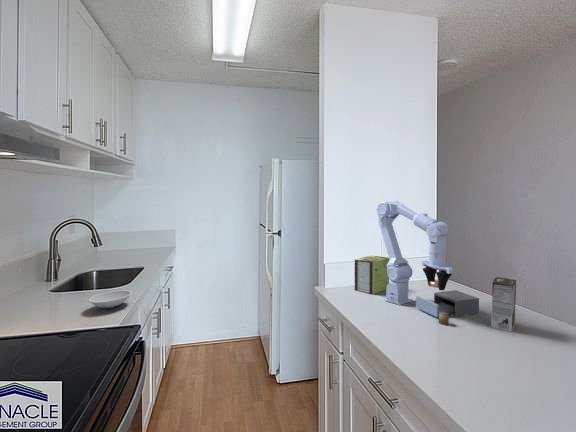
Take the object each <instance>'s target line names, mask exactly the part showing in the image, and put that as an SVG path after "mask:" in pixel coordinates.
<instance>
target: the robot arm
mask: <svg viewBox="0 0 576 432" xmlns="http://www.w3.org/2000/svg"><path fill="white" fill-rule="evenodd" d="M375 211H376V213H377V216H378V225H379V229H380V233H381V236H382V239H383V242H384V246H385V248H386V249H385V250H386V251H387V255H388V258H389V262H388V264H387V274H388V277H389V284H388V285H387V287H386V290H385V295H386V296H385V297H386V298H385V299H384V301H386V302H388V303H392V304H394V305H400V306H402V305H404V304H408V303H410V302H413V299H411V298H409V281H410V278H411V277H412V276H413V269H412V267H411V266H410V264H409V262H408V260H407V259H405V257H403V254H402V251H401V249H400V245H399V242H398V239H397V236H396V233H395V229H394V226H393V222H394V221H395V220H396V219H397V218H398V216H399V215H401V216H403V217H404V218H407V219H408V220H411V221H412V222H413V225H414V226H416V227H418V228H419V229H421V230H422V231H424V232H426V235H427V236H428V241H429V245H428V246H429V247H428V248H429V249H428V251H429V252H428V261H427V260H425V261H424V260H423V261H421V266H422V267H423V268H422V271H423V273H424V275H425V277H426V281H427V285H428V287H431V286H430V281H431V280H436V277H437V280H438V284H439V288H438V290H439V291H445V289H446V286H447V284H448V281H449V279H450V278H451V276H452V274H454V268H453V267H450V266H449V265H447V263H446V247H447V246H446V244H447V243H446V240H447V239H446V238H447V236H448V235H449V233H450V228H449V225H448V224H447V223H446V222H444V221H438V219H436V218H432V217H431V216H428V213H426V212H421V213H417V212H416V211H414V210H413V209H411V208H409V207H408V206H406V205H405V204H404V203H402V202H400V201H398V200H394V201H382V200H381V201H380V202H379V203H378V205H377V207H376V209H375Z"/></svg>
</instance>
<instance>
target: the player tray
mask: <svg viewBox="0 0 576 432" xmlns="http://www.w3.org/2000/svg"><path fill="white" fill-rule="evenodd" d="M415 308H416V309H419V310H421V311H423V312H424V313H427V314H429V315H431V316H434V318H435V317H436V318H439V312H446V313H448V314H449V313H454V312H455V307H454V306H452V305H449V304H447V303H444V302H442V301H439V302H435V303H434V301H433V302H432V301H430V300H428V299H426V298H423V297H421V296H419V295H416V296H415Z"/></svg>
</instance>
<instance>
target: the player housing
mask: <svg viewBox="0 0 576 432" xmlns="http://www.w3.org/2000/svg"><path fill="white" fill-rule="evenodd" d="M433 293H434V294H433V303H435V302H439V301H442V302H444V303H447V304H449V305H452V306H454V307H455V312H454V313H448V314H449V315H452V316H453V317H463V316H470V315H477V314H479V313H480V298H479V297H477V296H473V295H471V294H469V293H465V292H461V291H459V290H456V289H455V290H446V291H445V290H444V291H438V292H437V291H436V292H433Z"/></svg>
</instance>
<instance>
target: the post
mask: <svg viewBox="0 0 576 432" xmlns="http://www.w3.org/2000/svg"><path fill="white" fill-rule="evenodd" d="M449 317H450V314H449V313H446V312H439V315H438V324H440V325H443V326H447V325H449V322H450V321H449V320H450V318H449Z"/></svg>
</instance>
